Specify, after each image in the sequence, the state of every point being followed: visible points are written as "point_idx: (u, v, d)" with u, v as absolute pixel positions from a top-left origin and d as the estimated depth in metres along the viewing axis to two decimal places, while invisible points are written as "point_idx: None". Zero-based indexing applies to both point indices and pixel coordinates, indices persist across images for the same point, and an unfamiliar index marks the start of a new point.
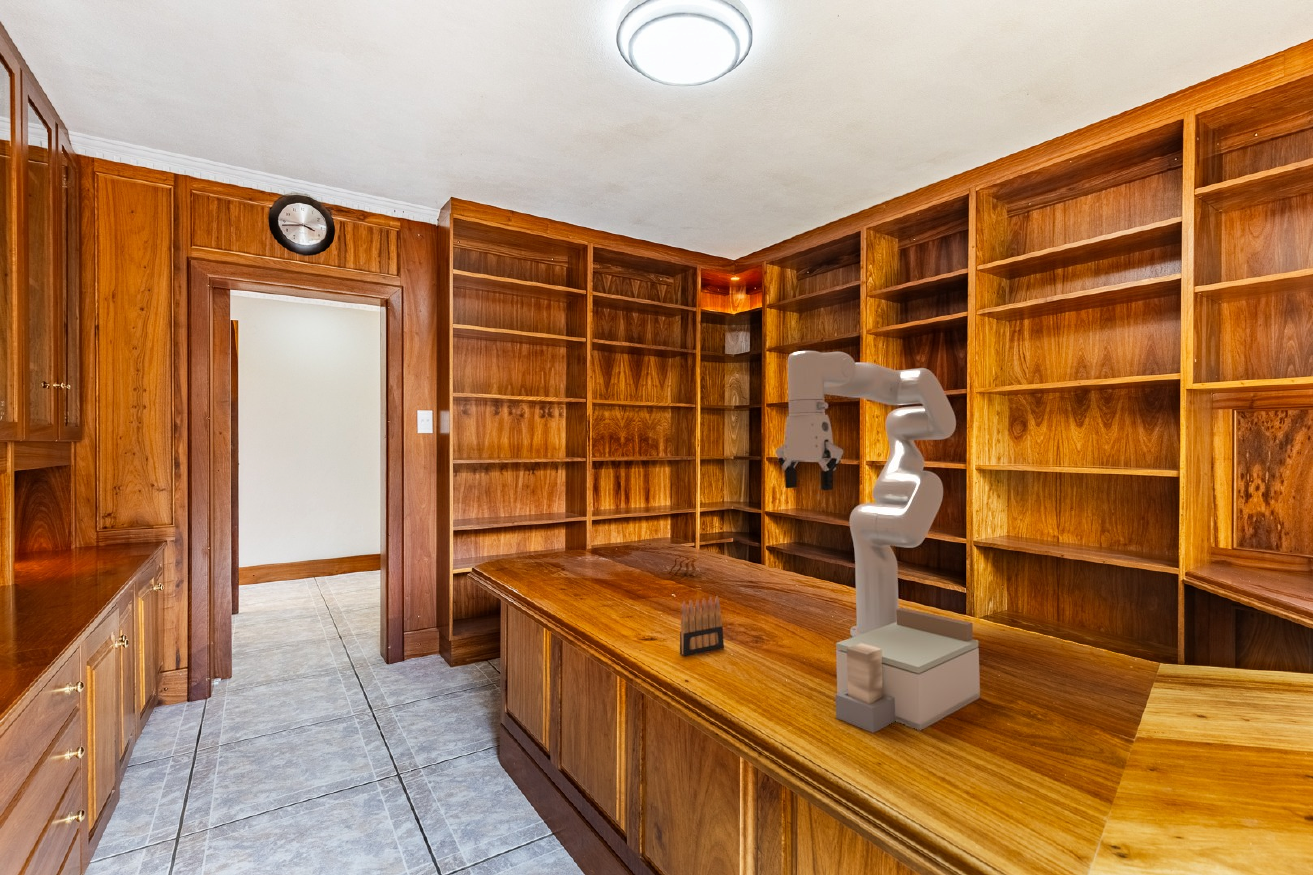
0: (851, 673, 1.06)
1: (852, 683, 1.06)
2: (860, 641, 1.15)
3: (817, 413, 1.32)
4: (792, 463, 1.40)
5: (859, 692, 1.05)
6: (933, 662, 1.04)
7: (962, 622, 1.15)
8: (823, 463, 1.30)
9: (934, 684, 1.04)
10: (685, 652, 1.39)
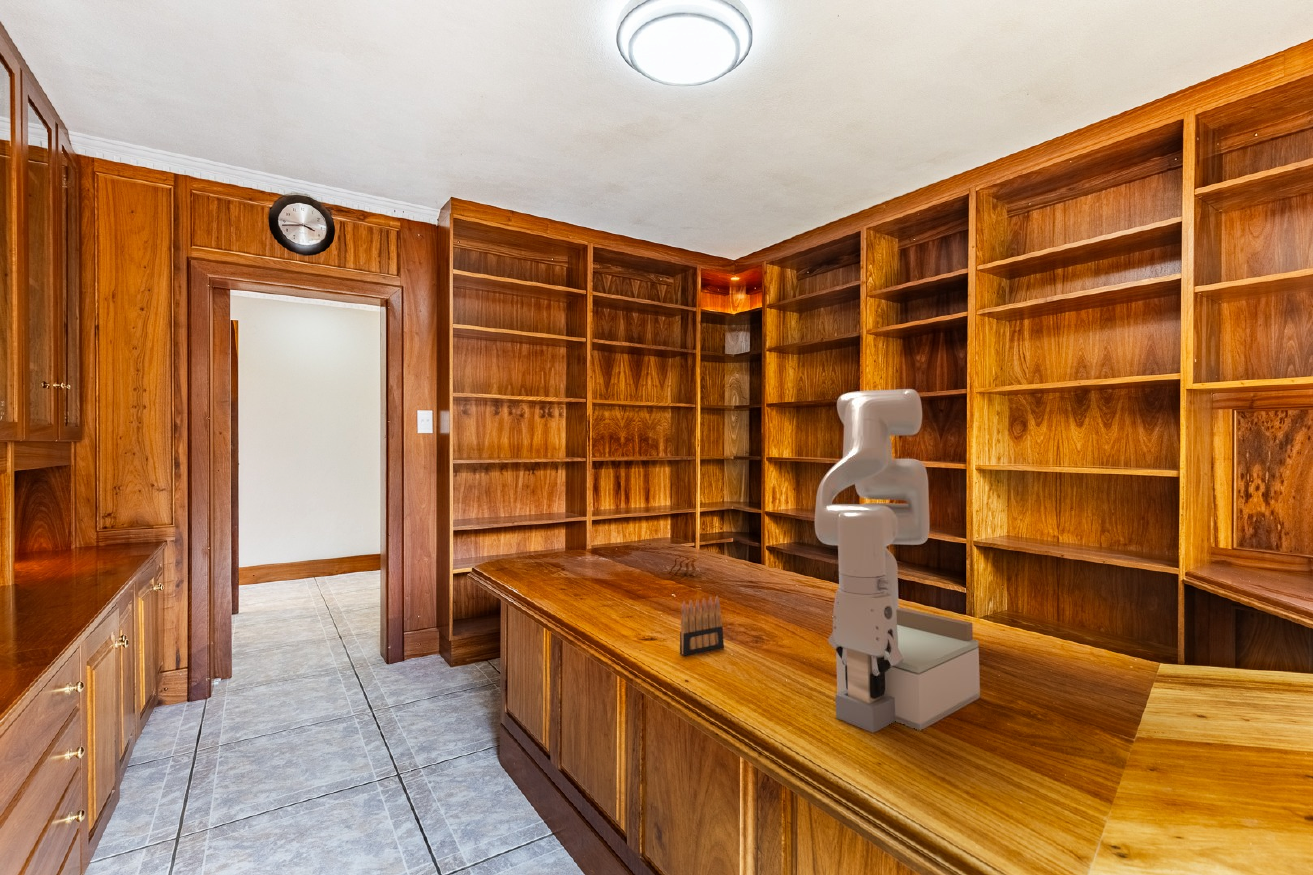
0: (851, 673, 1.06)
1: (852, 683, 1.06)
2: None
3: (878, 594, 1.03)
4: None
5: (859, 692, 1.05)
6: (933, 662, 1.04)
7: (962, 622, 1.15)
8: (875, 665, 1.03)
9: (934, 684, 1.04)
10: (685, 652, 1.39)
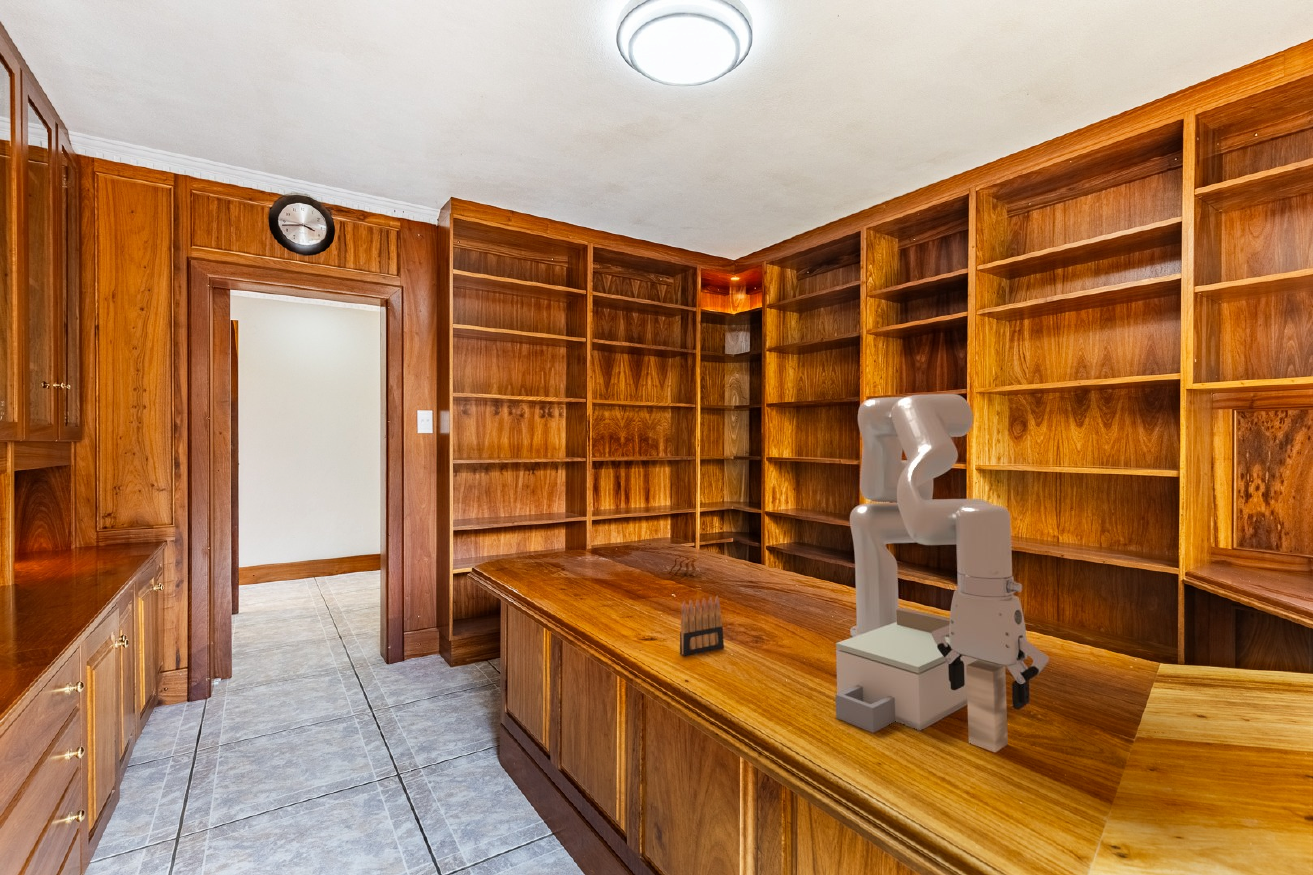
0: (972, 693, 0.97)
1: (973, 703, 0.97)
2: (860, 641, 1.15)
3: (1006, 597, 0.94)
4: None
5: (982, 714, 0.96)
6: (933, 662, 1.04)
7: None
8: (1017, 672, 0.92)
9: (934, 684, 1.04)
10: (685, 652, 1.39)
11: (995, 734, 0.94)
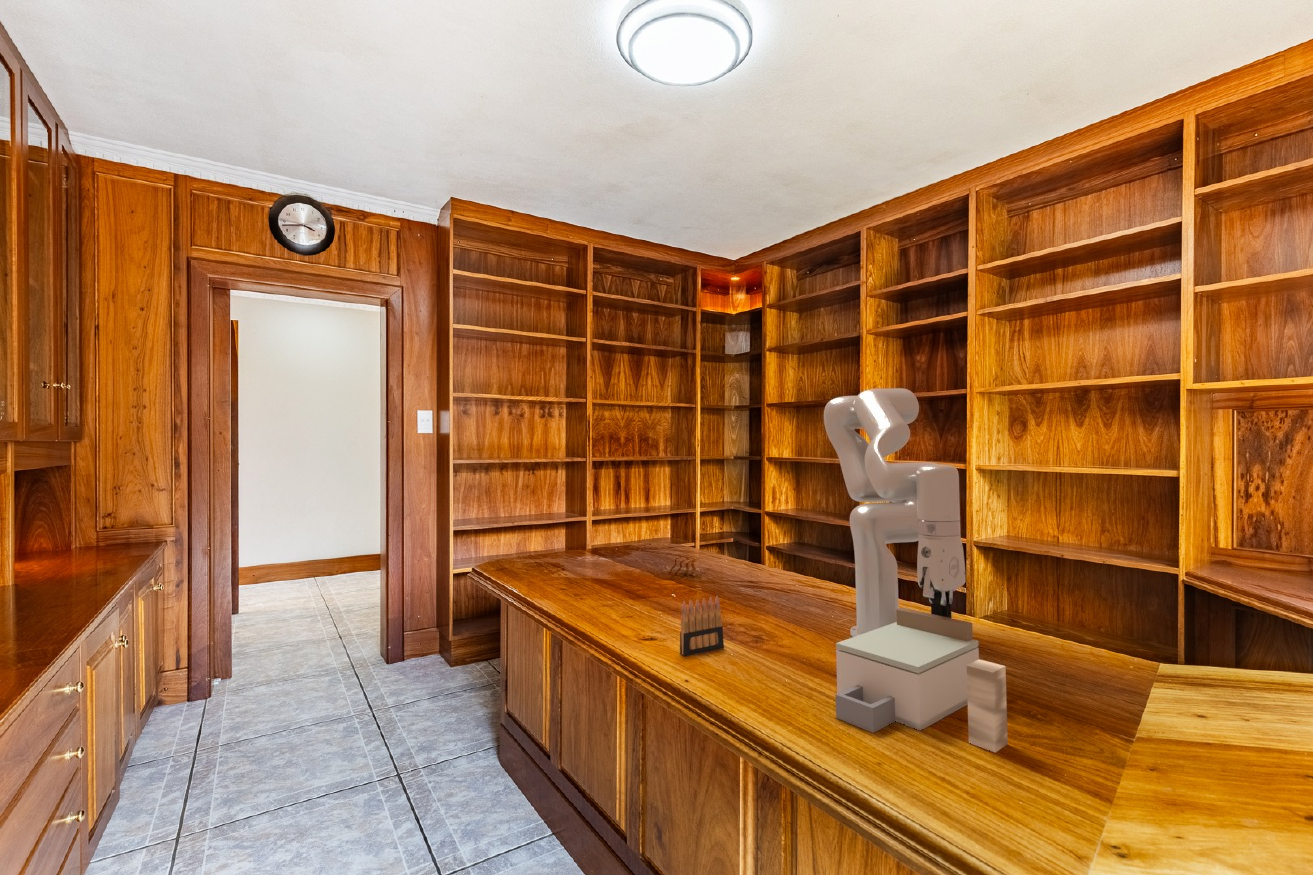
0: (973, 693, 0.97)
1: (974, 703, 0.97)
2: (860, 641, 1.15)
3: (924, 536, 1.20)
4: None
5: (982, 714, 0.96)
6: (933, 662, 1.04)
7: (962, 622, 1.15)
8: None
9: (934, 684, 1.04)
10: (685, 652, 1.39)
11: (995, 734, 0.94)
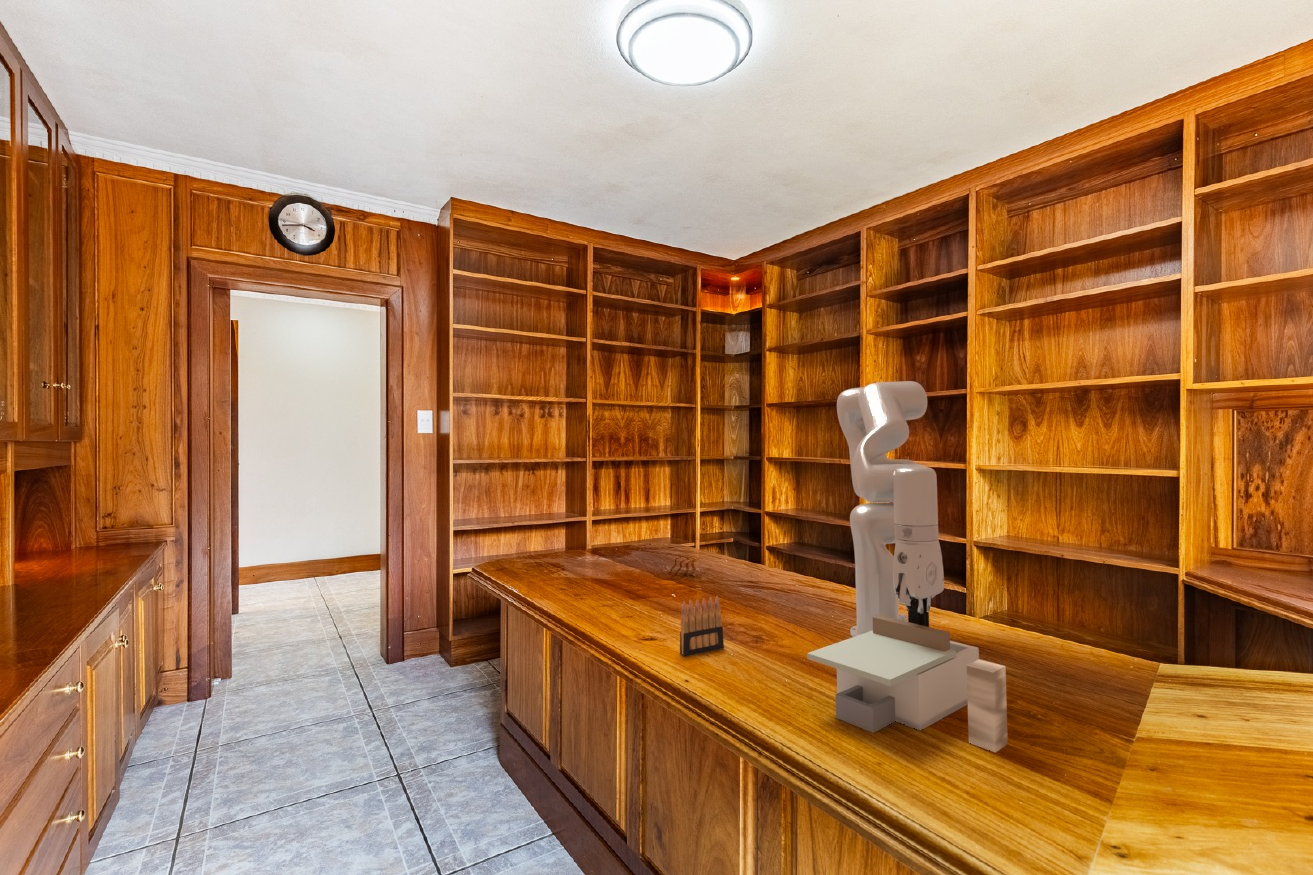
0: (973, 693, 0.97)
1: (974, 703, 0.97)
2: (832, 651, 1.10)
3: (901, 541, 1.15)
4: None
5: (982, 714, 0.96)
6: (906, 674, 1.00)
7: (939, 631, 1.10)
8: None
9: (934, 684, 1.04)
10: (685, 652, 1.39)
11: (995, 734, 0.94)
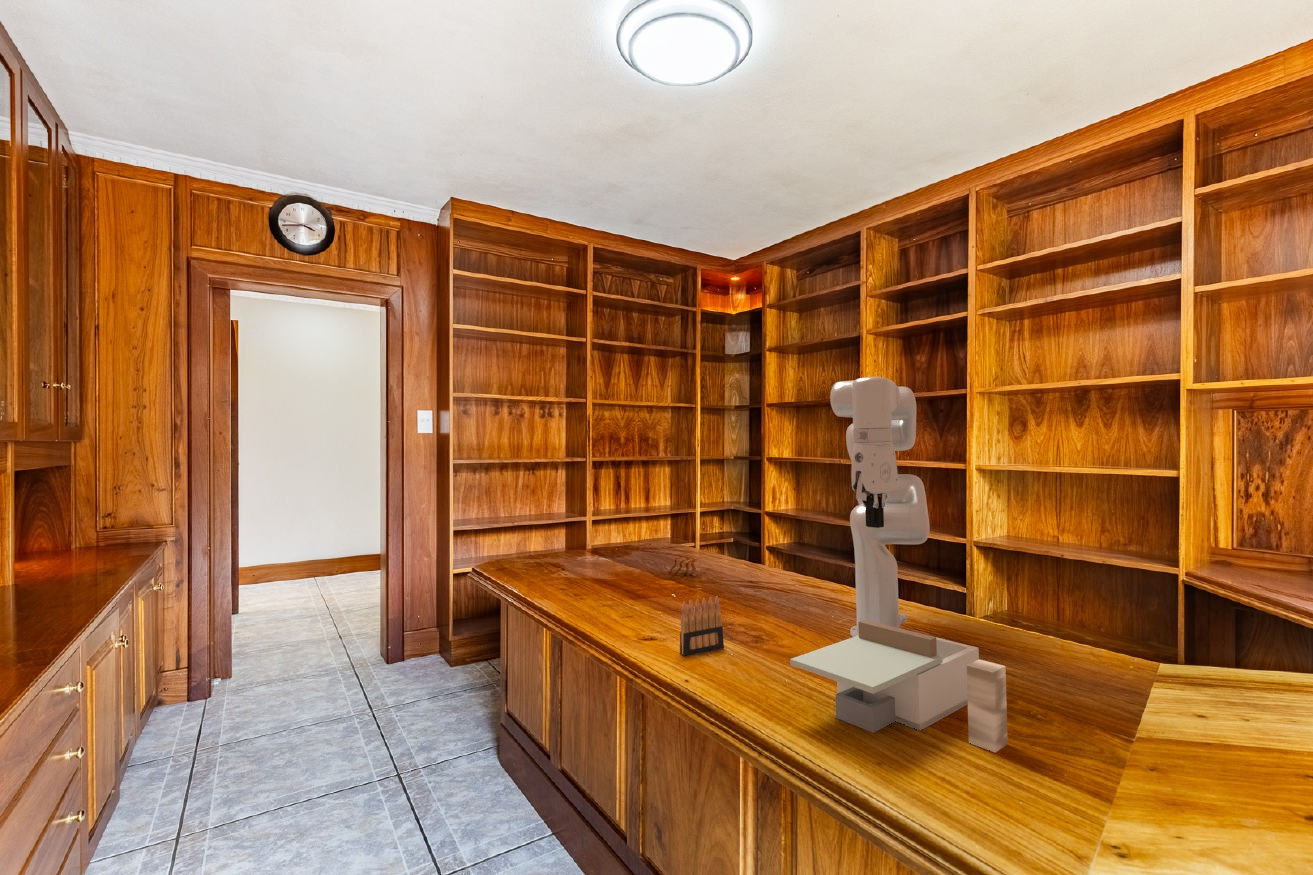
0: (973, 693, 0.97)
1: (974, 703, 0.97)
2: (816, 657, 1.07)
3: (858, 443, 1.28)
4: None
5: (982, 714, 0.96)
6: (890, 681, 0.97)
7: (925, 636, 1.07)
8: None
9: (934, 684, 1.04)
10: (685, 652, 1.39)
11: (995, 734, 0.94)
